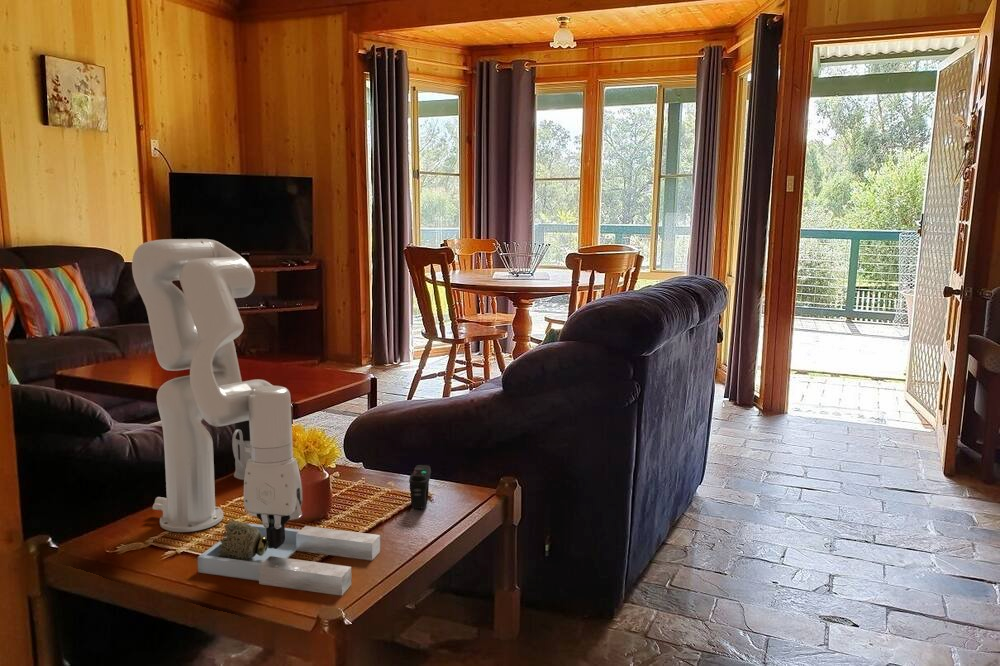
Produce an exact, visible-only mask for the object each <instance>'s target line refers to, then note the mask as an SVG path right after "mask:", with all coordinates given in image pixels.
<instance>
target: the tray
mask: <svg viewBox="0 0 1000 666" xmlns="http://www.w3.org/2000/svg"><path fill="white" fill-rule="evenodd" d="M244 524H248V525H250V526H253V527H255V528H256V529H258V530H259V532H260V534H261V537H262V536H266V537H267V535H266V528H265V527H264V526H263V524H257V523H251V522H250V523H247V522H244ZM300 530H301V529H298V528H297V529H296V528H289V527H285V541H284V543H283V544H282V545H281V546H280V547H278V548H277V549H274V548H267V551H266V553H265V554H264V555H262V556H259V555H257V554H256V555H255V556H254V557H253V558H251V559H249V560H236V559H229V558H221V557H218V556H219V555H221V554H220V553H218V552H219V551H221V550H222V549H221V548H220V547H219V545H220V544H222V543H221V542H220V540H219V541H218V542H217V543H215V544H214V545H212V546H211V547H209V548H208V549H207V550H205V551H204V552H203V553H201V554H200V555H198V556H197V571H198V573H201V574H208V575H216V576H222V577H229V578H237V579H243V580H251V581H255V582H256V581H258V582H259V565H260V564H261V563H263V562H264V561H265V560H266V559H267V558H268V557H270V556H274V557H281V558H289V559H290V557H291V556H292V555H293V554H294V553H296V534H297V533H298V532H299V531H300ZM224 538H226V536H224Z"/></svg>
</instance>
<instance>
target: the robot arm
mask: <svg viewBox="0 0 1000 666" xmlns="http://www.w3.org/2000/svg"><path fill="white" fill-rule="evenodd" d="M131 260H132V261H131V271H132V278H133V280H134V284H135V286H136V288H137V291H138V293H139V295H140V297H141V300H142V302H143V304H144V306H145V309H146V314H147V317H148V323H149V328H150V334H151V338H152V342H153V347H154V349H153V350H154V352H155V356H156V359H157V362H158V364H159V366H160V367H161V368H162V369H163V370H165V371H172V372H173V371H174V372H175V371H184V370H189V375H183V376H179V377H174V378H172V379H170V380H169V379H168V380H167V381H166V382H163V384H162V385H160V387H159V388H158V390H157V393H156V404H157V409H158V413H159V417H160V421H161V427H162V432H163V433H162V435H163V444H164V445H163V449H164V469H165V483H166V484H165V488H166V489H165V491H166V497H161V496H157V497H155V499H154V503H153V505H152V510H155V511H156V510H157V511H162V515H161V517H160V518H159V525H160V527H161V528H162V529H164V530H165V531H168V532H174V533H190V532H191V533H192V532H197V531H202V530H206V529H210V528H211V527H215V526H216V525H218V524H219V523H220V522H221V521H222V520H223V519H224V510H223V509H222V508H220V507H219V506H216V496H215V495H216V493H215V492H216V491H215V489H216V488H215V464H214V461H215V460H214V441H213V437H212V435H211V434H210V432H209V431H208V430H207V428H206V427H205V426H204V425H203V423H202V420H204V421H205V422H206V423H207V424H208V425H210V426H212V427H225V426H229V425H233V424H234V425H235V423H238V422H243V421H248V420H249V425H250V445H246V447H245V451H246V452H249V453H250V457H251V459H249V460H247V464H246V470H245V477H244V480H243V508H244V510H245V511H246V512H247V514H248V515H250V516H253V517H256V518H258V520H260V522H261V523H262V525H263V526H264V527H265V528H266V535H267V542H268V548H274V549H277V548H278V547H280V546H281V545H282V544H283V543H284V541H285V528H286V526H285V525H286V524H287V523H288V522H289V521H291V520H298V519H299V518H301V517H302V516H303V512H302V508H301V507H302V505H303V486H302V479H301V475H300V474H301V473H300V468H299V465H298V461H297V458H296V457H294V451H293V450H294V449H293V447H294V446H293V426H292V425H293V424H292V422H293V421H292V405H291V404H292V400H291V399H292V398H291V392H290V390H289V389H288V388H287V387H284V386H281V385H273V384H271V382H269V381H267V380H265V379H259V378H258V379H250V380H245V381H244V380H242V375H241V370H240V365H239V360H238V356H237V355H238V354H237V352H236V351H237V350H236V346H235V341H234V340H235V339H237V338H239V336H240V335H242V333H243V331H244V329H245V328H244V323H243V319H242V318H241V314H240V311H239V309H238V307H237V303H236V301H235V299H238V298H239V299H240V298H241V299H242V298H246V297H249V295H251V294H252V293H253V291H254V289H255V285H256V279H255V273H254V272H253V269H252V267H251V265H250V264H249V262H248V261H247V260H246V259H245V258H244V257H242V256H241V255H240V254H239V253H237V252H236V251H234V250H232V249H231V248H230V247H227V246H226V245H225V244H223V243H221V242H219V241H217V240H215V239H208V238H187V239H186V238H185V239H184V238H169V239H168V238H167V239H155V240H150V241H146V242H143V243H141V244H140V245H138V246H137V248H136V249H135V250H134V253H133V255H132V259H131ZM173 281H179V283H180V287H181V288H182V290H181V289H180V288H179V287H178V286H176V284H174V283H173Z"/></svg>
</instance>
